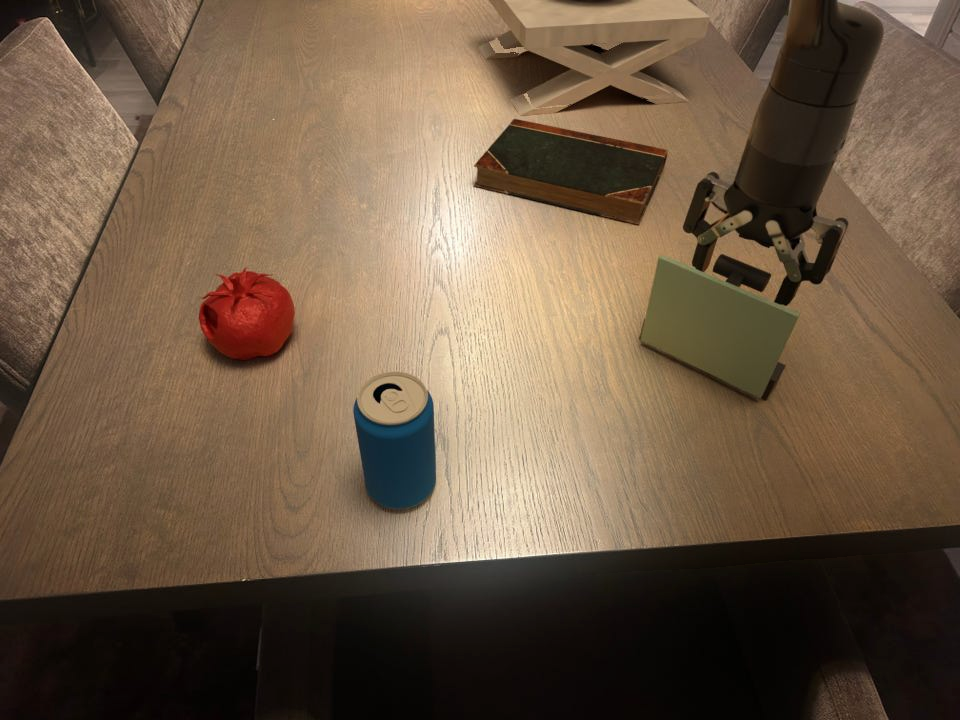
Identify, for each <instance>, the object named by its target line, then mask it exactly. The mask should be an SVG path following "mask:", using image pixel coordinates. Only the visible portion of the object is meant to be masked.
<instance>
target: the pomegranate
mask: <svg viewBox="0 0 960 720" xmlns="http://www.w3.org/2000/svg"><path fill="white" fill-rule="evenodd" d="M247 269H248V266H246V267H244V268H243V269H242V272H233V273H232V274H230V275H229V276H225V275H222V274H218V273H215V275H216V276H217V277H220V279H221V281H222V283H221V284H220V285H218V287H216V289H215V291H209V292H208V293H207V294H206V295H205V296H202V297H200V299H201V300H203V301H202V303H201V304H200V307H199V312H198V322H199V325H200V329H201V332H202V333H203V336H204V337H205V339H206V340H207V341H208V343H209V344H211V345H212V346H213V347H214V348H215V349H216V350H217V351H218V352H220V353H221V354H223V355H224V356H226V357H228V358H230V359H236V360H243V361H245V360H246V361H247V360H250V359H254V358H256V357H268V356H271V355H274V354H276V353H277V352H278V351H280V349H281V348H282V347H283V346H284V344H285V342H286V341H287V340H288V338H289V337H290V336H291V334H292V332H293V328H294V321H295V316H296V310H295V309H296V308H295V304H294V300H293V298H292V295H291V294H290V292H289V290H288V289H287V288H286V287H285V286H283V285H282V284H281V282H280V281H278V280H276V279H274V278H272V277H269V276H274V275H275V273H273V274H268V273H257V272H256V271H250V270H247Z"/></svg>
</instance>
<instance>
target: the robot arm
mask: <svg viewBox="0 0 960 720" xmlns="http://www.w3.org/2000/svg"><path fill="white" fill-rule="evenodd" d="M787 13H788V14H787V20H786V26H785V30H784V35H783V39H782V42H781V45H780V49H779V51H778V54H777V57H776V61H775V64H774V67H773V70H772V72H771V76H770V80H769V82H768V84H767V87H766V89H765V91H764V92H763V95H762V97H761V100H760V102H759V103H758V106H757V109H756V111H755V115H754V117H753V121H752V124H751V127H750V131H749V133H748V136H747V140H746V143H745V146H744V149H743V152H742V155H741V158H740V161H739V162H740V164H739V167H738V170H737V173H736V176H735V180H734V182H733V184H732V185H730V184H728V183H725V182H723V181H721V180H719V175H718V174H719V173H717V172H716V171H711V172H708V174H706V175H705V177H703V178H702V179H701V180H700V181H699V182H698V183H697V184H696V187H695V190H694V193H693V196H692V199H691V202H690V204H689V207H688V210H687V213H686V216H685V219H684V222H683V225H682V230H683V232H685V233H686V234H691V235H693V236H694V237H695V238H696V240H697V241H696V246H695V250H694V253H693V256H692V260H691V265H692V266H691V267H692V268H695V269H697V270H699V271H702V272H704V273H706V270H707V269H708V268H709V266H710V264H711V261H712V257H713V255H714V251H715V249H716V245H717V242H718V239H719V238H720V239H721V238H722V237H725V236H726V235H728V234H730V233H732V232H733V231H735V232H736V234H738V237H739V238H741V239H744V240H749V241H754V242H756V243H757V244H759V245H760V246H761V247H765V248H766V249H770V248H773V247H774V250H775V252H776V255H777V258H778V260H779V262H780V263H782V264H783V267H784V269H785V272H786V275H785V276H784V278H783V280H782V282H781V284H780V287H779V289H778V291H777V294H776V296H775V298H774V300H773V302H775V303H777V304H780V305H782V306H784V307H787V306H788V305H791V303H792V301H793V300H794V298H795V297H796V295H797V292H798V290H799V288H800V287H801V284H802V282H810V284H812V285H820V284H822V282H823V281H824V280H825V277H826V275H827V274H829V272H830V271H831V269H832V267H833V264H834V261H835V259H836V257H837V254H838V252H839V250H840V247H841V244H842V242H843V239H844V237H845V234H846V232H847V229H848V227H849V221H848V220H847V218H846V217H837V218H836V219H834V220H833V219H830V218H826V217H824V216H821V215H818V212H817V206H818V205H817V204H818V202H819V201H820V200H819V199H820V197H821V195H822V193H823V190H824V188H825V186H826V184H827V181H828V179H829V177H830V175H831V172H832V169H833V167H834V165H835V162H836V161H837V158H838V155H839V153H840V152H841V150H842V149H843V147H844V146H845V143H846V140H847V135H848V132H849V129H850V127H851V124H852V121H853V117H854V114H855V110H856V106H857V104H858V101H859V98H860V96H861V93H862V91H863V89H864V87H865V85H866V82H867V80H868V77H869V76H870V73H871V71H872V68H873V65H874V63H875V61H876V58H877V56H878V53H879V51H880V49H881V47H882V43H883V39H884V35H885V28H884V24H883V22H882V20H880V18H879V17H878V16H876V15H875V14H874V13H871V12H870V11H867V10H865V9H863V8H861V7H856V6H853V5H849V4H846V3H842V2H840V1H839V0H789V5H788V12H787ZM719 196H724V202H725V205H726V208H727V211H728V212H726V213H725V214H724V215H722V216H721V218H718V219H717V220H715V221H714V222H712V223H709V222H708V221H707V220H705V218H706V216H707V213H708V210H709V207H710V205H711V203H713V202H714V201H715V200H716V199H717V198H718V197H719ZM810 230H812V231H814V232H815V240H816V243H818V244H819V245H820V247H819V250H818V253H817V254H816V255H817V256H816V257H815V261H814V262H810V261H809V257H808V255H807V253H806V250H805V246H806V242H805V239H804V236H803V234H805V233H807V232H808V231H810Z"/></svg>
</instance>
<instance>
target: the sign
mask: <svg viewBox="0 0 960 720" xmlns="http://www.w3.org/2000/svg"><path fill="white" fill-rule="evenodd" d="M712 273H714V274H716V275H719V276H721V277H724V278H726V279H725V280H723V279H720V278H719V277H715V276H713V275H711V274H708V273H706V272H702V271H699V270H697V269H695V267H693V266H689V265H688V264H685V263H683V262H680V261H678V260H675V259H673V258H671V257H668V256H666V255H663V254H660V255H659V256H658V258H657V262H656V267H655V271H654V276H653V281H652V286H651V290H650V293H649V294H650V295H649V299H648V303H647V308H646V311H645V312H646V313H645V318H644V319H645V321H644V320H643V322H644V326H643V325H642V326H643V331H642V335H641V339H640V340H641V341H642V342H644V343H646V344H648V345H650V346H652V347H654V348H656V349H658V350H661V351H663V352H664V353H666V354H668V355H671V356H673V357H674V358H677V359H679V360H681V361H683V362H684V363H687V364H689V365H691V366H693V367H695V368H696V369H699V370H700V371H701V370H702V371H703V372H705V373H707V374H710V375H711V376H713V377H715V378H717V379H719V380H721V381H723V382H725V383H728V384H730V385H732V386H734V387H736V388H738V389H740V390H742V391H744V392H746V393H748V394H750V395H752V396H754V397H756V398H758V399H762V398H761V397H762V395H763V393H764V391H765V389H766V387H767V385H768V383H769V380H770V378H771V376H772V374H773V372H774V370H775V367H776V365H777V363H778V362H780V358H781V357H782V354H783V352H784V350H785V348H786V346H787V345H788V341H789V340H790V337H791V335H792V333H793V331H794V328H795V326H796V324H797V321H798V320H799V317H800V315H801V313H800V312H799V311H796V310H794V309H791V308H789V307H787V306H784V305H780V304H777V303H775V302H774V301H772V300H770V299H768V298H765V297H763V296H760V295H758V294H756V293H753V292H751V291H749V290H746V289H744V288H741V286H745V287H747V288H750V289H752V290H755V291H757V292H760V293H763V292H764V291H765V289H766V288H767V286H768V284H769V283H770V280H771V278H772V273H770V272H768V271H766V270H763V269H760V268H758V267H756V266H753V265H750V264H749V263H746V262H743V261H741V260H738V259H737V258H736V259H735V258H733V257H731V256H729V255H727V254H724V253H721V254H719V255H718V257H717V259H716V260H715V262H714V264H713V267H712Z"/></svg>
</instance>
